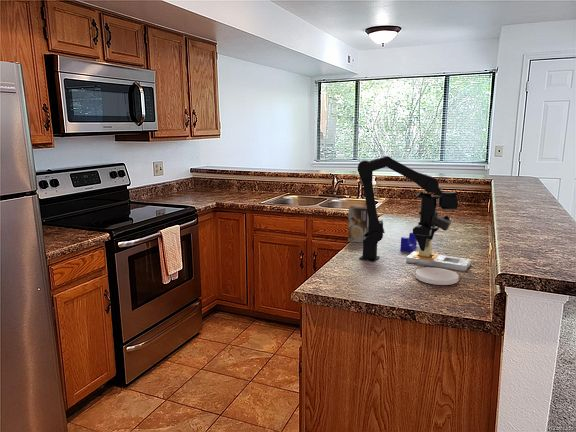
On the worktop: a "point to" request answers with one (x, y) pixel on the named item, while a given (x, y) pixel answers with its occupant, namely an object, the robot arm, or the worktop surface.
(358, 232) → the coffee box
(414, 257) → the grey plate with holes
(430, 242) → the beige rectangular block
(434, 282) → the plastic lid
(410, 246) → the blue curved block
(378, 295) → the worktop surface
